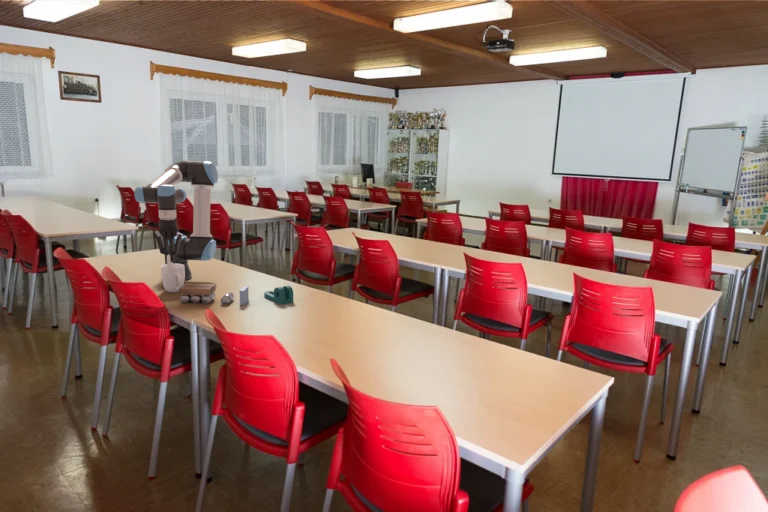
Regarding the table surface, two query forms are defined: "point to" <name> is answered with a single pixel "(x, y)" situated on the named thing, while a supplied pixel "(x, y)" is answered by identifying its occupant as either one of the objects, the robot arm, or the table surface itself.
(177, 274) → the mug
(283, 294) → the bracket
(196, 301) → the grey ball cluster
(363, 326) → the table surface
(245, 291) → the stop block
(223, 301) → the roller
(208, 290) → the slab
